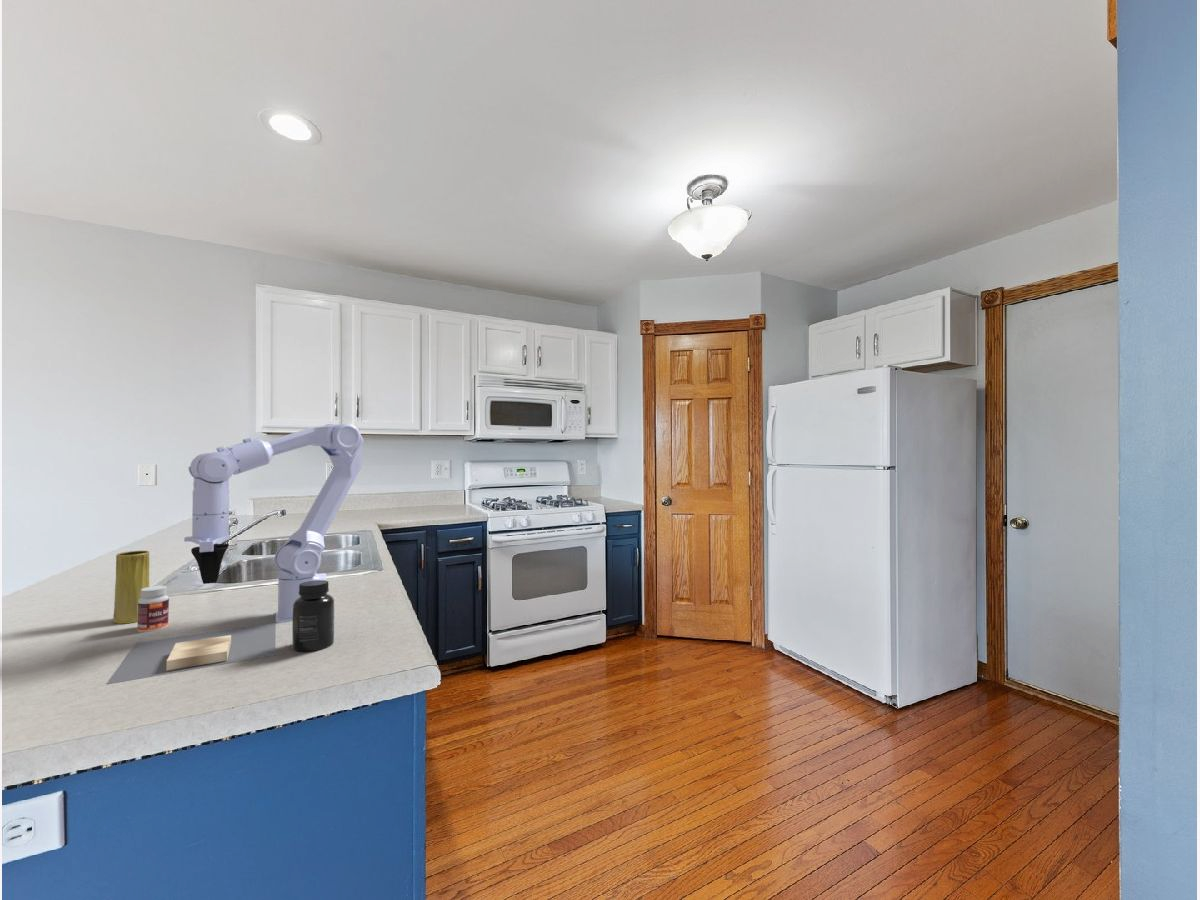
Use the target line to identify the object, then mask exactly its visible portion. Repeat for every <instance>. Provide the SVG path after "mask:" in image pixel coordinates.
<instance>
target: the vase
mask: <svg viewBox="0 0 1200 900" xmlns="http://www.w3.org/2000/svg"><path fill="white" fill-rule="evenodd" d="M114 585H115V586H114V602H113V603H114V606H113V617H112V623H113V624H116V625H123V624H124V625H126V624H134V623H138V601H139V600H140V599H141V598H142V597H141V595H140V594H141V589H143V588H147V587H150V551H149V550H132V551H124V552H120V553H119V552H118V553H116V556H115V584H114Z"/></svg>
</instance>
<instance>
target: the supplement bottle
mask: <svg viewBox="0 0 1200 900" xmlns="http://www.w3.org/2000/svg"><path fill="white" fill-rule="evenodd" d="M329 591H330V588H329V581H328V580H327V581H325V580H315V581H308V582H304V583H301V584H300V585H299V595H300V598H298V599H297V600H296V601H295V602H294V604H293V620H292V624H291V625H292V627H291V628H292V631H291V632H292V637H291V639H292V641H291V643H292V645H291V646H292V651H294V652H297V653H312V652H313V653H314V652H317V651H323V650H325V649H328V648H330V647H332V646H333V645H334V643H335V599H334V597H333V596H332V595H330V594H329V593H328V592H329Z"/></svg>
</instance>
